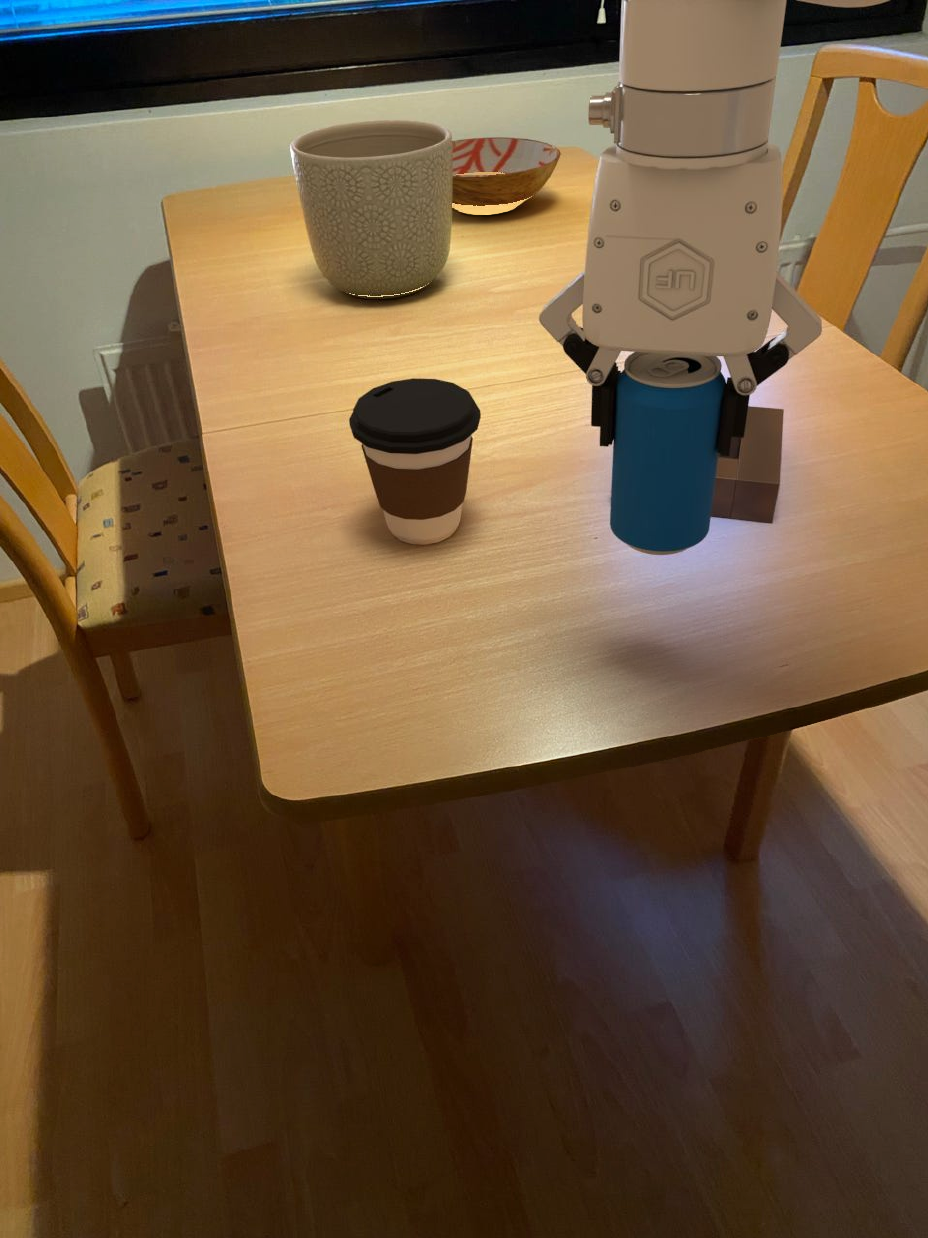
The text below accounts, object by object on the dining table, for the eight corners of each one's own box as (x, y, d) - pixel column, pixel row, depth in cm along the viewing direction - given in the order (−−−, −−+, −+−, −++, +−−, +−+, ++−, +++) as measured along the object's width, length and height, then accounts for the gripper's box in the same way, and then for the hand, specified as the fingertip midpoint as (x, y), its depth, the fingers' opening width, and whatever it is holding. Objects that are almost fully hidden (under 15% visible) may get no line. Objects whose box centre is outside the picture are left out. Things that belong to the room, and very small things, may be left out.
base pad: (776, 445, 92) (783, 408, 90) (772, 523, 82) (779, 483, 79) (634, 432, 96) (637, 396, 93) (612, 505, 85) (615, 466, 83)
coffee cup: (338, 531, 84) (319, 410, 76) (422, 481, 90) (412, 364, 82) (426, 576, 78) (415, 450, 70) (509, 519, 84) (507, 397, 76)
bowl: (589, 208, 155) (591, 156, 150) (459, 239, 146) (456, 185, 141) (509, 177, 172) (508, 129, 167) (388, 202, 163) (383, 153, 158)
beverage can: (729, 537, 61) (753, 365, 54) (656, 574, 59) (671, 398, 51) (660, 497, 66) (673, 332, 58) (589, 530, 63) (594, 362, 55)
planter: (302, 271, 138) (280, 129, 126) (437, 252, 141) (428, 113, 129) (325, 322, 122) (302, 166, 110) (476, 299, 126) (471, 145, 114)
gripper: (506, 138, 46) (516, 458, 57) (882, 136, 42) (812, 484, 53) (539, 106, 51) (542, 404, 63) (874, 102, 47) (812, 423, 58)
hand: (666, 438), depth 58 cm, fingers closed on beverage can, 6 cm apart
